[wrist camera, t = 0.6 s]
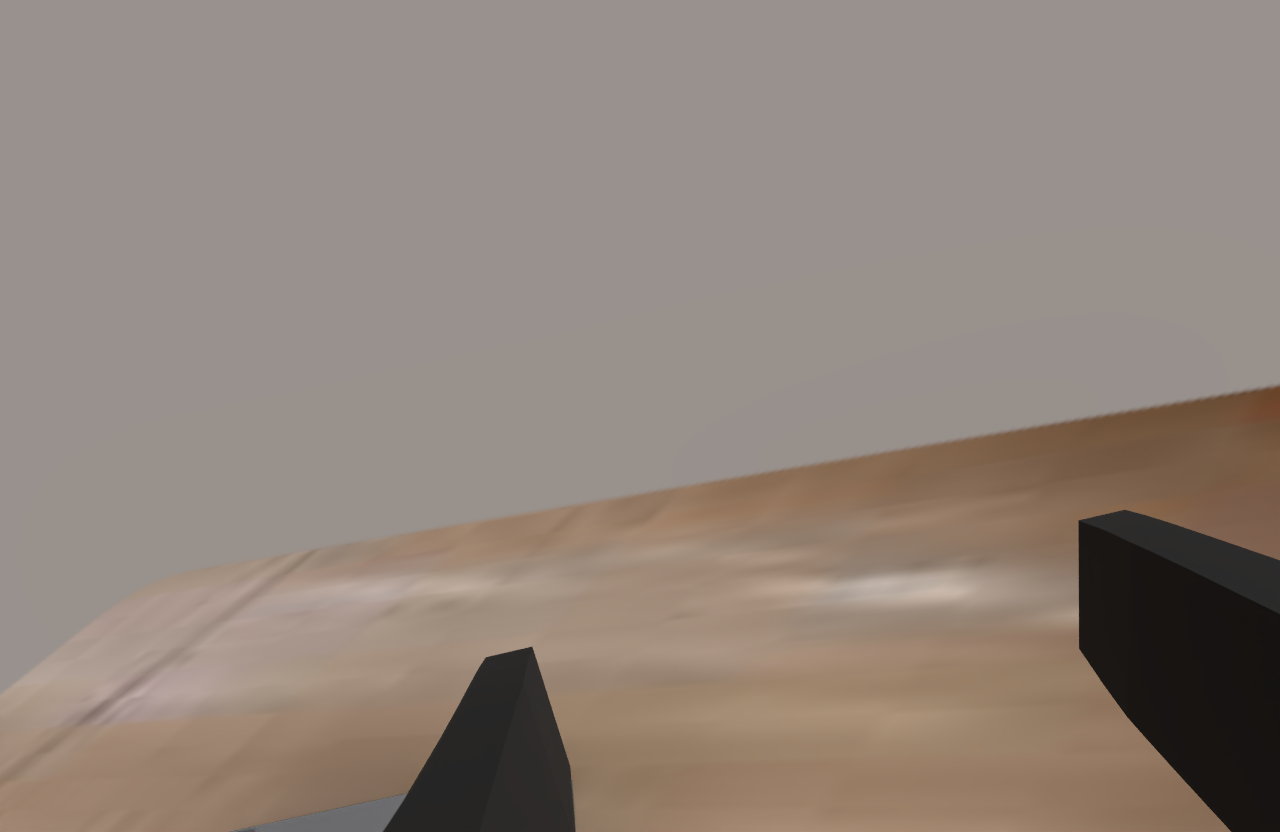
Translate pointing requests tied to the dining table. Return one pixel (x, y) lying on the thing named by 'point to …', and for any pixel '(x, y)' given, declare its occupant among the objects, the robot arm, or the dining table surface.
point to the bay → (341, 818)
